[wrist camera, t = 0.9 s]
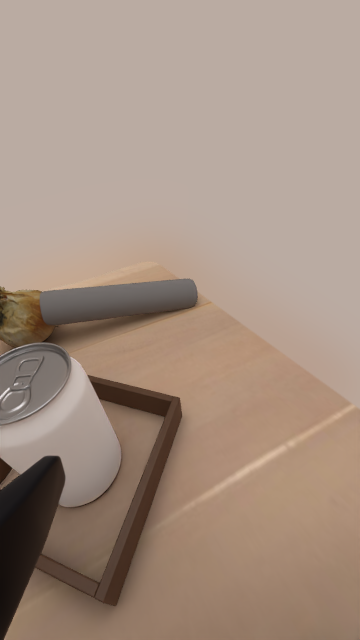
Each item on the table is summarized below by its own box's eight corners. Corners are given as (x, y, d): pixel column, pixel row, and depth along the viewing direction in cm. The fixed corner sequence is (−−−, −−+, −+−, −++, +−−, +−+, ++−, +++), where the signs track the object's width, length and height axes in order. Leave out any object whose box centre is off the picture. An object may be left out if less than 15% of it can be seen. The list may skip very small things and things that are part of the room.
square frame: (116, 606, 17) (103, 602, 15) (-39, 527, 20) (-66, 515, 18) (182, 415, 26) (180, 397, 24) (67, 384, 30) (57, 367, 28)
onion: (35, 367, 32) (0, 314, 26) (-9, 348, 35) (-48, 298, 29) (79, 326, 37) (57, 275, 31) (37, 313, 40) (11, 264, 34)
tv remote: (39, 291, 32) (37, 287, 31) (189, 278, 39) (194, 274, 38) (44, 326, 32) (42, 324, 30) (195, 307, 39) (200, 304, 37)
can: (34, 513, 21) (-75, 440, 13) (57, 432, 26) (-11, 342, 18) (119, 504, 21) (62, 425, 13) (125, 424, 26) (87, 332, 18)
